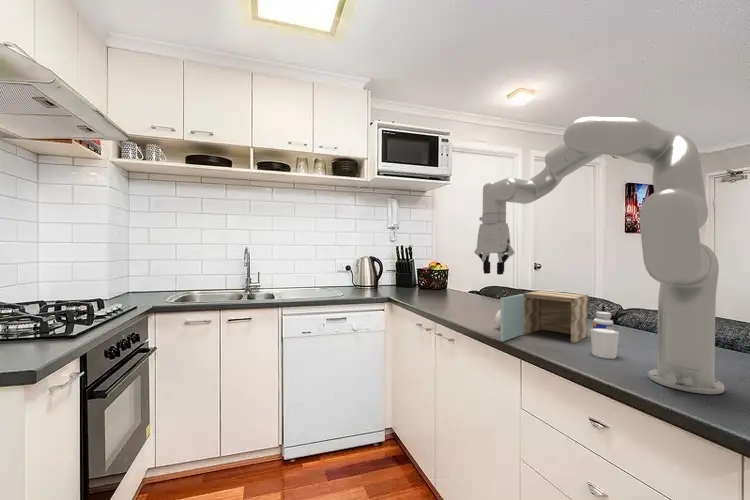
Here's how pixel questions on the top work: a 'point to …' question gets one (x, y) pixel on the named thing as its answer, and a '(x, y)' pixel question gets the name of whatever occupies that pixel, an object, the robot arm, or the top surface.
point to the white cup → (604, 342)
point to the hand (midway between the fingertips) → (493, 273)
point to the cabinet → (556, 313)
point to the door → (511, 317)
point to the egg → (497, 318)
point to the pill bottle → (603, 321)
